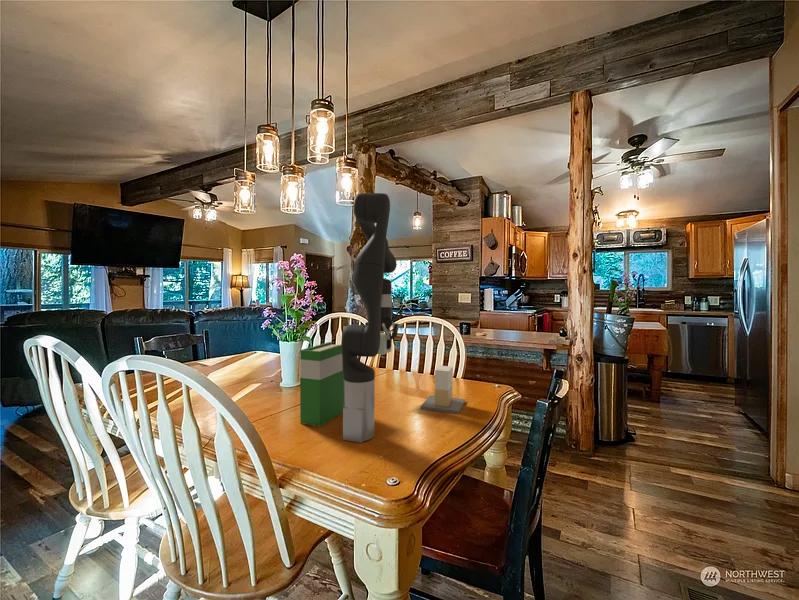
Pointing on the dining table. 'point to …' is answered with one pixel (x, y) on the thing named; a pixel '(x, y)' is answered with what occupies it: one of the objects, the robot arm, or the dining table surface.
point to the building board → (441, 408)
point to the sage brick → (383, 344)
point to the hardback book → (321, 383)
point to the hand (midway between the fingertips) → (381, 348)
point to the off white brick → (443, 377)
